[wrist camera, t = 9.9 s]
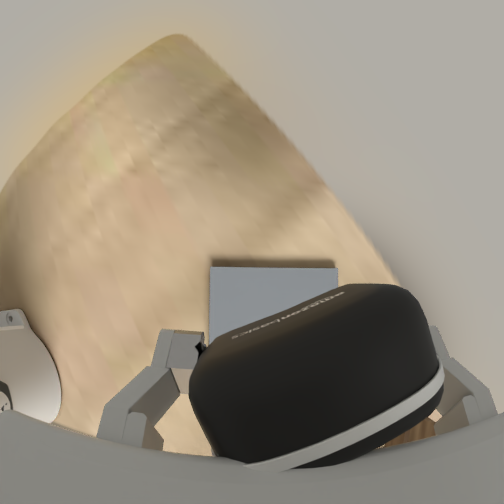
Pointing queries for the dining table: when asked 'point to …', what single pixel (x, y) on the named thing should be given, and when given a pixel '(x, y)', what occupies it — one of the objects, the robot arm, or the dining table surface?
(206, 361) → the battery charger
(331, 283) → the mat
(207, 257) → the dining table surface
